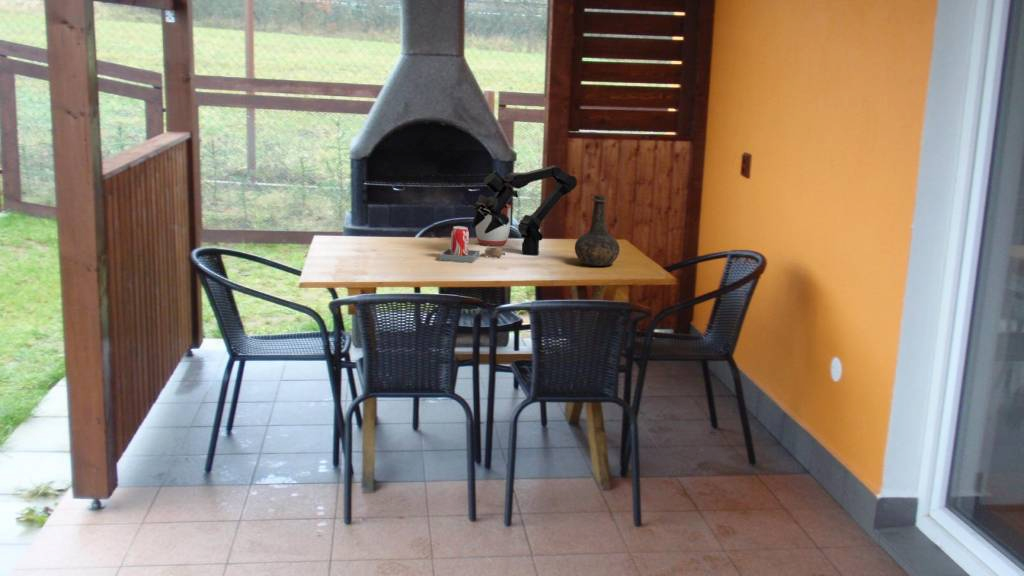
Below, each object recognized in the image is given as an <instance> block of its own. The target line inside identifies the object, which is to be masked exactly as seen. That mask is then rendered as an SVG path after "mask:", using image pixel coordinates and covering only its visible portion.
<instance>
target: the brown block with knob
mask: <svg viewBox="0 0 1024 576" xmlns="http://www.w3.org/2000/svg"><path fill="white" fill-rule="evenodd" d="M502 254H503V255H504V256H505V255H506V252H505V251H503V248H502V247H491V246H487V247H486V249H485V248H484V257H485V256H488V257H487V258H490V257H497V258H496V259H500V258H502V256H503V255H502ZM501 255H502V256H501Z"/></svg>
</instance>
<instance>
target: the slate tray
mask: <svg viewBox="0 0 1024 576" xmlns="http://www.w3.org/2000/svg"><path fill="white" fill-rule="evenodd" d="M478 257H479V258H480V250H472V249H469V250H468V256H459V255H451V248H446V249H445V250H444V251H442V252H441V253H440V254H439V262H449V261H454V262H453V263H455V262H456V263H464V262H474V261H475V260H476V259H477V258H478ZM479 258H478V259H479ZM478 259H477V260H478ZM477 260H476V261H477ZM476 261H475V262H476ZM475 262H474V263H475Z"/></svg>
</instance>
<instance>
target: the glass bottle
mask: <svg viewBox="0 0 1024 576" xmlns="http://www.w3.org/2000/svg"><path fill="white" fill-rule="evenodd" d="M593 197H594V198H592V199H591V200H592V202H593V210H592V219H591V224H590V229H589V232H587V233H586V234H583V235H580V236H579V237H578V238H577V240H576V241H575V245H574V253H575V255H576V257H577V258H578V260H579V262H581V263H582V264H583V265H584V266H585V265H586V266H590V267H606V266H607V267H608V266H609V265H611V264H613V263H614V262H615V261H616V260H617V259H618V257H619V254H620V244H619V241H618V240H617V239H616V238H615V237H613V236H612V235H610V234H609V232H608V228H607V222H606V221H607V220H606V219H607V218H606V202H607V200H606V197H607V196H606V195H605V194H601V193H599V194H593Z"/></svg>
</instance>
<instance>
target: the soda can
mask: <svg viewBox="0 0 1024 576" xmlns="http://www.w3.org/2000/svg"><path fill="white" fill-rule="evenodd" d="M469 243H470V232H469V229H468V226H462V225H457V226H455V225H454V226H453V227H452V230H451V233H450V249H451V255H459V256H468V250H470V248H469V245H470V244H469Z"/></svg>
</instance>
